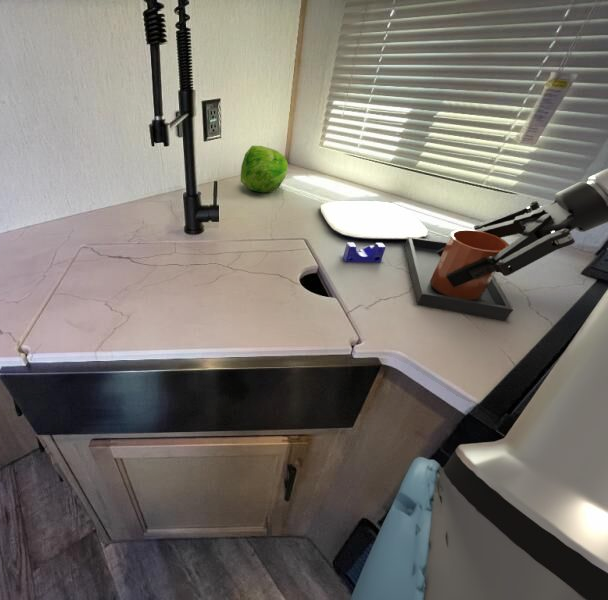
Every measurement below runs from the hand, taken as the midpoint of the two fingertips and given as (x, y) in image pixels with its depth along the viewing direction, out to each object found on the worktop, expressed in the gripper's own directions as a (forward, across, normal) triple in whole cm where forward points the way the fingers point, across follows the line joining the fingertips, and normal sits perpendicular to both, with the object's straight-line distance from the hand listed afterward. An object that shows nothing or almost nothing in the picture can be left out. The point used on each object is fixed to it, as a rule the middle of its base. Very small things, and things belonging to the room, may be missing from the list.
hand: (444, 268), depth 69 cm
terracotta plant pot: (+1, 0, -5) cm, 5 cm away
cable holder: (+14, +8, +7) cm, 17 cm away
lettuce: (+37, +47, +29) cm, 67 cm away
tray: (+1, +6, -6) cm, 8 cm away
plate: (+12, +30, +5) cm, 33 cm away
